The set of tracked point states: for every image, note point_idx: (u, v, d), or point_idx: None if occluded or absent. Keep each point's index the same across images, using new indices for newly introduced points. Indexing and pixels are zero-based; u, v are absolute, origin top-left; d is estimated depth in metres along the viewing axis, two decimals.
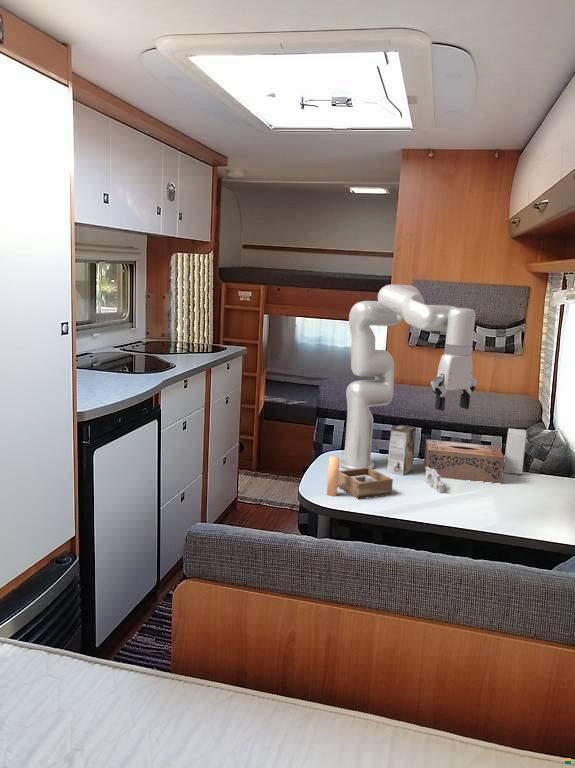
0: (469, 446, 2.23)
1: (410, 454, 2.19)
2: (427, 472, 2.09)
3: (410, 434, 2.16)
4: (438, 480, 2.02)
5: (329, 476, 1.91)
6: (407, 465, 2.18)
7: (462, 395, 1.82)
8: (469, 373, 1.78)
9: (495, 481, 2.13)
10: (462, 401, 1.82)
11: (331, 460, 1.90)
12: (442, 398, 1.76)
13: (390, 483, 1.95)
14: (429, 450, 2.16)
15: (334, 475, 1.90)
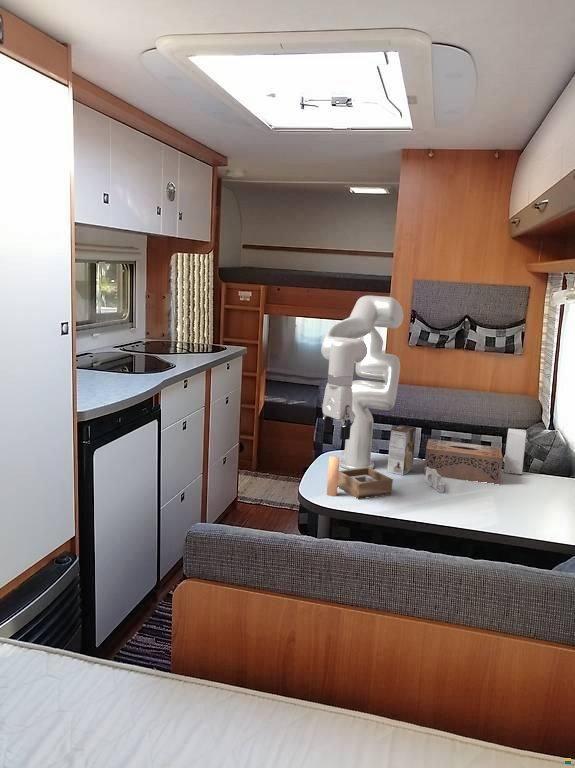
0: (470, 446, 2.23)
1: (410, 454, 2.19)
2: (427, 472, 2.09)
3: (410, 434, 2.16)
4: (438, 480, 2.02)
5: (329, 476, 1.91)
6: (407, 465, 2.18)
7: (326, 420, 1.92)
8: None
9: (493, 482, 2.12)
10: (327, 426, 1.93)
11: (331, 460, 1.90)
12: None
13: (390, 483, 1.95)
14: (427, 449, 2.17)
15: (334, 475, 1.90)
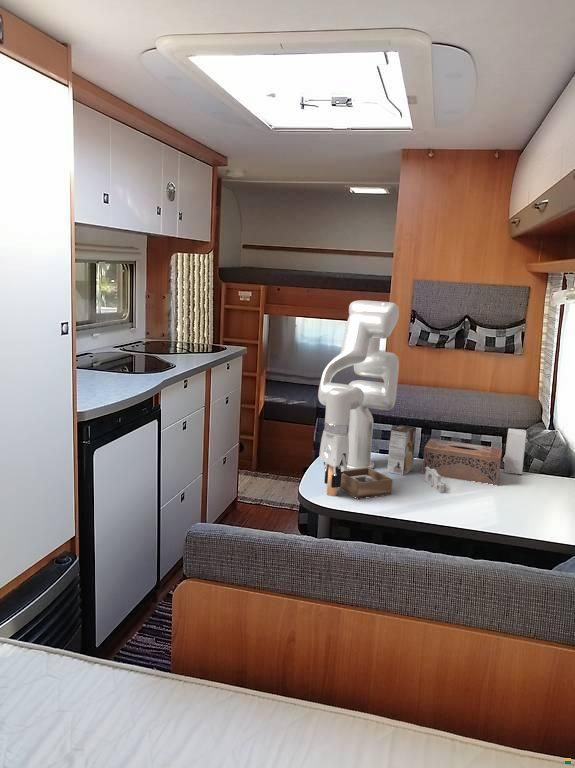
0: (471, 446, 2.22)
1: (410, 454, 2.19)
2: (427, 472, 2.09)
3: (410, 434, 2.16)
4: (438, 480, 2.02)
5: (329, 476, 1.91)
6: (407, 465, 2.18)
7: None
8: None
9: (491, 482, 2.12)
10: None
11: None
12: None
13: (390, 483, 1.95)
14: (425, 448, 2.18)
15: None
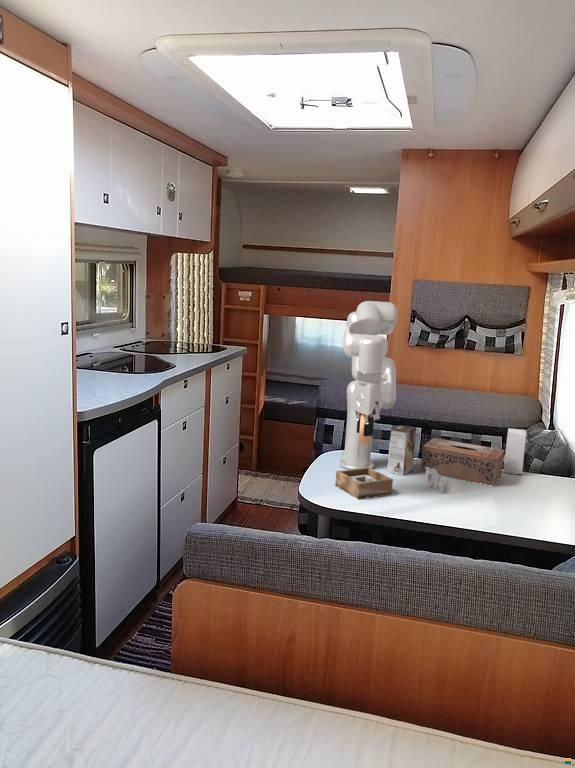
0: (471, 447, 2.22)
1: (410, 454, 2.19)
2: (427, 472, 2.09)
3: (410, 434, 2.16)
4: (438, 480, 2.02)
5: (361, 425, 1.94)
6: (407, 465, 2.18)
7: None
8: None
9: (488, 483, 2.11)
10: None
11: None
12: None
13: (390, 483, 1.95)
14: (424, 446, 2.20)
15: None
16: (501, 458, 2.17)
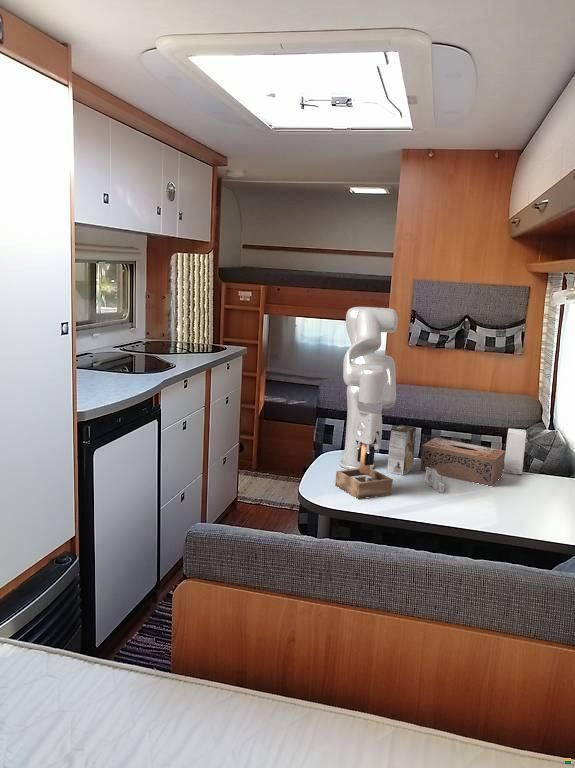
0: (472, 447, 2.22)
1: (410, 454, 2.19)
2: (427, 472, 2.09)
3: (410, 434, 2.16)
4: (438, 480, 2.02)
5: (362, 454, 1.95)
6: (407, 465, 2.18)
7: None
8: None
9: (486, 483, 2.10)
10: None
11: None
12: None
13: (390, 483, 1.95)
14: (423, 446, 2.21)
15: None
16: (501, 459, 2.16)
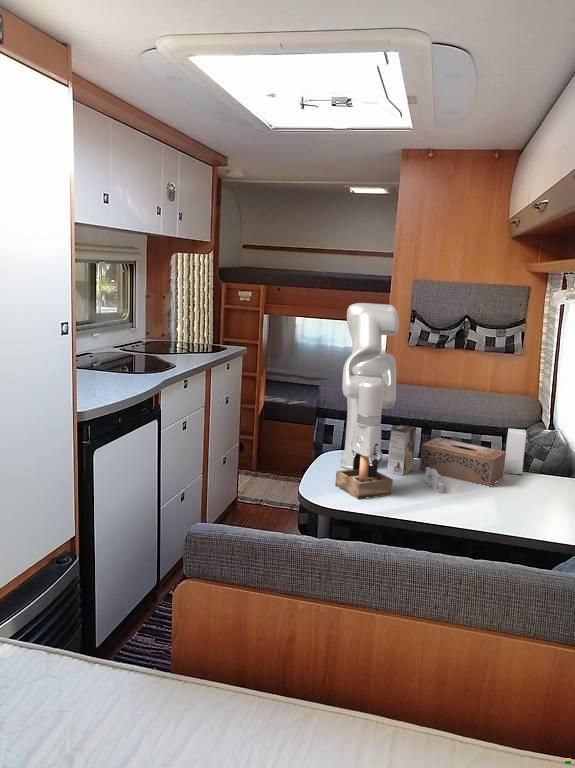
0: (472, 447, 2.21)
1: (410, 454, 2.19)
2: (427, 472, 2.09)
3: (410, 434, 2.16)
4: (438, 480, 2.02)
5: (361, 469, 1.96)
6: (407, 465, 2.18)
7: (356, 459, 2.00)
8: None
9: (484, 483, 2.10)
10: (357, 464, 2.00)
11: None
12: None
13: (390, 483, 1.95)
14: (423, 445, 2.22)
15: (366, 468, 1.96)
16: (501, 459, 2.16)
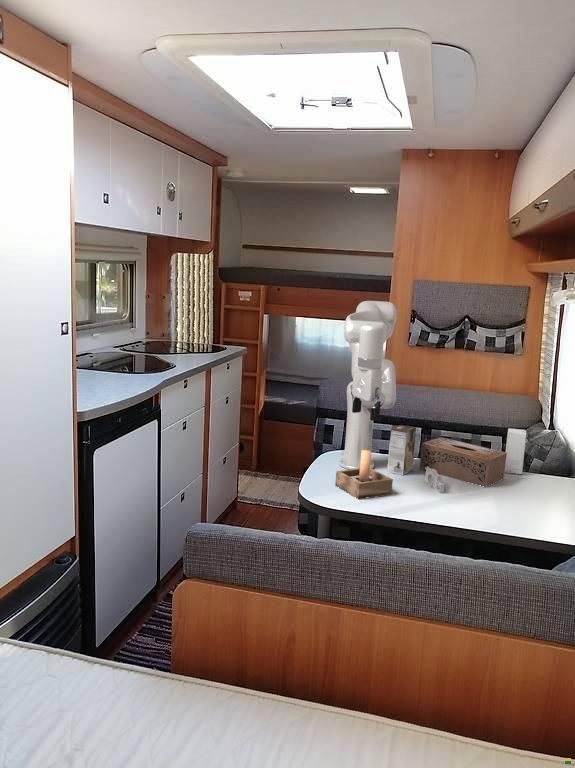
0: (473, 448, 2.21)
1: (410, 454, 2.19)
2: (427, 472, 2.09)
3: (410, 434, 2.16)
4: (438, 480, 2.02)
5: (361, 469, 1.96)
6: (407, 465, 2.18)
7: (355, 401, 1.99)
8: None
9: (481, 483, 2.10)
10: (356, 407, 2.00)
11: (363, 453, 1.95)
12: (378, 408, 1.92)
13: (390, 483, 1.95)
14: (423, 444, 2.23)
15: (366, 468, 1.96)
16: (500, 460, 2.14)
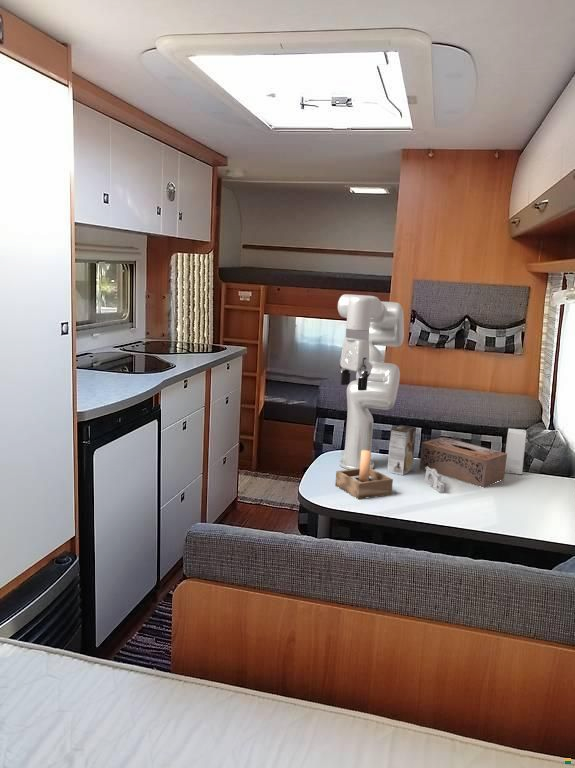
0: (473, 448, 2.21)
1: (410, 454, 2.19)
2: (427, 472, 2.09)
3: (410, 434, 2.16)
4: (438, 480, 2.02)
5: (361, 469, 1.96)
6: (407, 465, 2.18)
7: (344, 374, 2.03)
8: None
9: (478, 483, 2.09)
10: (344, 379, 2.03)
11: (363, 454, 1.95)
12: None
13: (390, 483, 1.95)
14: (423, 443, 2.24)
15: (366, 468, 1.96)
16: (499, 461, 2.13)
